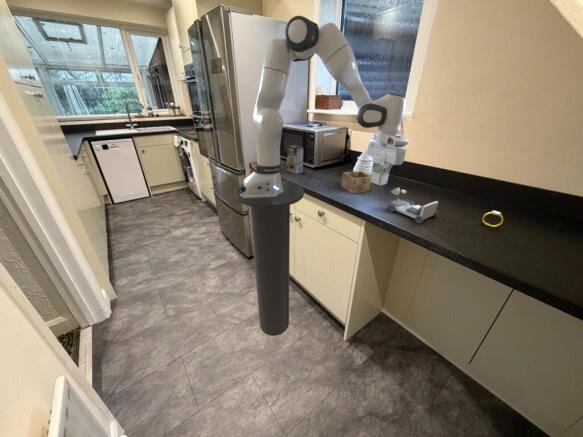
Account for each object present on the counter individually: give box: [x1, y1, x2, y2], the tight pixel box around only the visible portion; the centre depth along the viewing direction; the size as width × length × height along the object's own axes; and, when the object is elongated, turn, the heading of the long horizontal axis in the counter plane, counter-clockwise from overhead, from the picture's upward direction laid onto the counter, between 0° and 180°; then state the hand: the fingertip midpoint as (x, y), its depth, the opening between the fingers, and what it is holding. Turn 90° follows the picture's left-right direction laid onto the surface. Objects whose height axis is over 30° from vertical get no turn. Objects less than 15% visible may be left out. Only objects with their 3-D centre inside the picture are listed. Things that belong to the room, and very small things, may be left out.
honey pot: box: [352, 149, 373, 176], centre depth 138 cm, size 13×13×18 cm
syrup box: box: [370, 150, 390, 186], centre depth 103 cm, size 6×6×14 cm
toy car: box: [388, 186, 439, 224], centre depth 98 cm, size 18×10×12 cm
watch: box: [481, 210, 504, 228], centre depth 90 cm, size 6×3×6 cm, turn 48°
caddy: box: [340, 171, 373, 194], centre depth 123 cm, size 11×11×8 cm
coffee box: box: [286, 144, 304, 175], centre depth 148 cm, size 9×6×16 cm
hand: (380, 169), depth 104 cm, fingers closed on syrup box, 6 cm apart
